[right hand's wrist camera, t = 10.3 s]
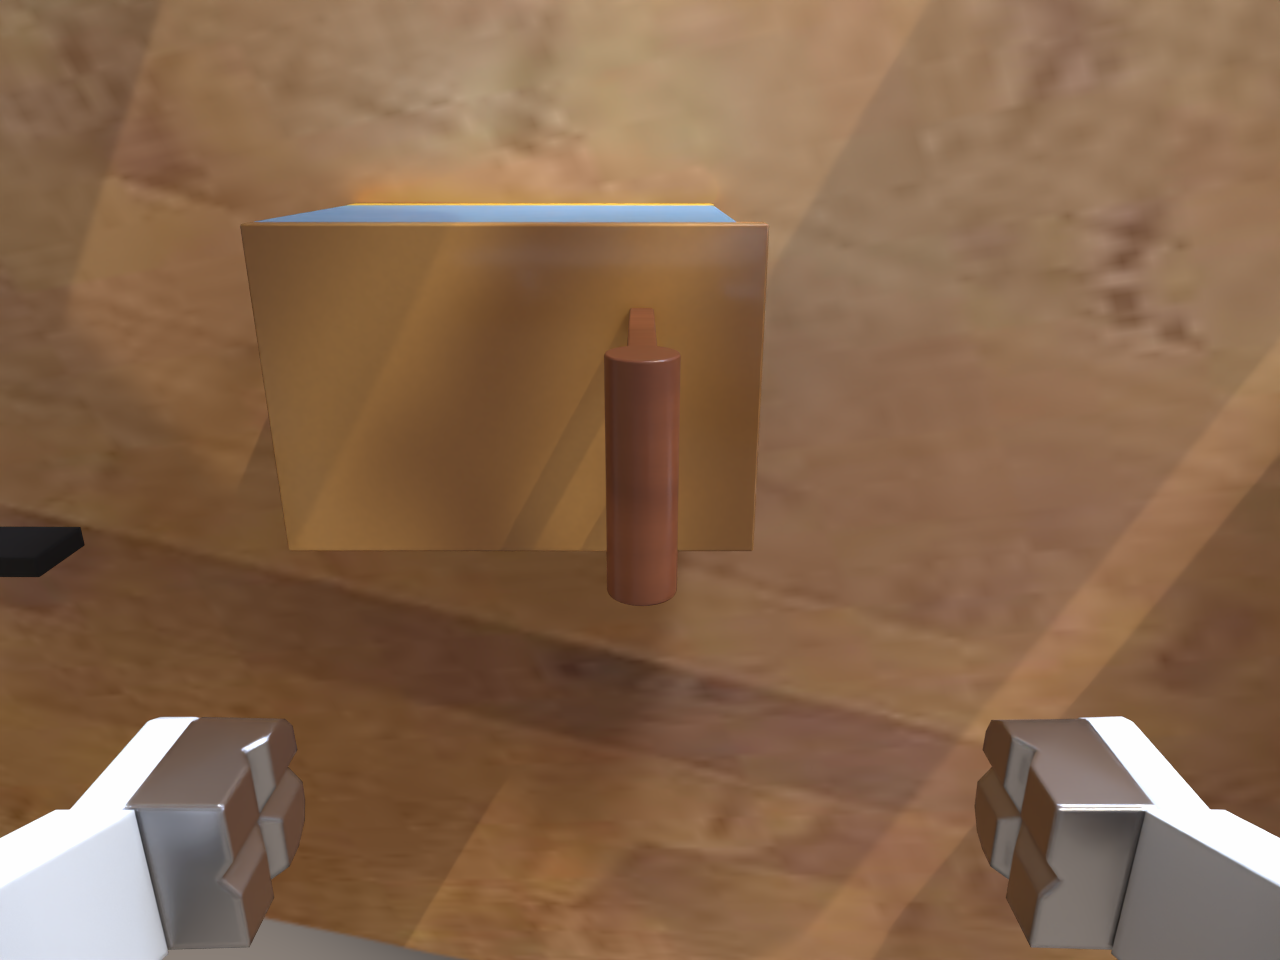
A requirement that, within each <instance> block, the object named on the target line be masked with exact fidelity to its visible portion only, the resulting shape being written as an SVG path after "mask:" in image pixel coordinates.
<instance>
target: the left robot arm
mask: <svg viewBox="0 0 1280 960" xmlns="http://www.w3.org/2000/svg"><path fill="white" fill-rule="evenodd" d="M83 546H84V540H83V536H82V532H81V528H80V527H0V577H40V576H41V575H43V574H44V573H46V572H47V571H49V570H50V569H51V568H53V567H54V566H56V565H57V564H59V563H60V562H61V561H63V560H64V559H66V558H67V557H69V556H70V555H71V554H73V553H74V552H76V551H77V550H78V549H80V548H81V547H83Z"/></svg>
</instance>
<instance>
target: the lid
mask: <svg viewBox="0 0 1280 960" xmlns="http://www.w3.org/2000/svg"><path fill="white" fill-rule="evenodd" d="M240 228H241V234H242V241H243V248H244V254H245V261H246V268H247V275H248V281H249V288H250V295H251V301H252V308H253V315H254V321H255V328H256V335H257V341H258V348H259V355H260V362H261V368H262V375H263V382H264V388H265V395H266V402H267V408H268V415H269V422H270V428H271V435H272V442H273V449H274V455H275V462H276V469H277V475H278V482H279V489H280V495H281V502H282V509H283V515H284V522H285V529H286V536H287V542H288V549H289V550H290V551H607V591H608V593H609V595H610V596H611V597H612V598H613V599H615V600H617V601H619V602H621V603H624V604H628V605H635V606H649V605H656V604H660V603H663V602H666V601H668V600H669V599H671V598H672V597H673V596H674V595H675V593H676V591H677V551H752V550H753V545H754V525H755V504H756V484H757V463H758V443H759V422H760V402H761V382H762V361H763V341H764V320H765V300H766V279H767V259H768V238H769V225H768V224H766V223H764V222H250V223H244V224H241V226H240Z"/></svg>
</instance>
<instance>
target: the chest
mask: <svg viewBox="0 0 1280 960" xmlns="http://www.w3.org/2000/svg"><path fill="white" fill-rule="evenodd" d="M255 222H736V221H734V220H733V219H732V218H730V217H729V216H727V215H726V214H724V213H723V212H722V211H720V210H719V209H717V208H716V207H714V205H713V204H349V205H346V206H341V207H335V208H329V209H324V210H318V211H312V212H306V213H301V214H295V215H289V216H283V217H278V218H272V219H266V220H260V221H255Z"/></svg>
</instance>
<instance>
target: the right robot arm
mask: <svg viewBox="0 0 1280 960" xmlns="http://www.w3.org/2000/svg"><path fill="white" fill-rule="evenodd" d="M296 751H297V745H296V740H295V735H294V730H293V726H292V725H291V724H290V723H289V722H288V721H287V720H286V719H264V718H218V717H202V718H197V717H159V718H156V719H153V720H149V721H148V722H147V723H146V724H145V725H144V726H143V727H142V728H141V729H140V731H139V732H138V733H137V734H136V735H135V736H134V737H133V738H132V740H131V741H130V742H129V743H128V744H127V745H126V746H125V748H124V749H123V750H122V751H121V752H120V753H119V754H118V756H117V757H116V758H115V759H114V760H113V761H112V762H111V763H110V765H109V766H108V767H107V768H106V769H105V770H104V771H103V773H102V774H101V775H100V776H99V777H98V778H97V779H96V781H95V782H94V783H93V784H92V785H91V786H90V787H89V788H88V790H87V791H86V792H85V793H84V794H83V795H82V796H81V798H80V799H79V800H78V801H77V802H76V803H75V804H74V806H73V807H72V808H71V809H70V810H54V811H52V812H50V813H49V814H47V815H45V816H43V817H41V818H39V819H37V820H35V821H33V822H31V823H29V824H27V825H25V826H23V827H21V828H19V829H17V830H15V831H13V832H11V833H9V834H7V835H6V836H4V837H2V838H0V960H162V959H163V958H164V957H166V956H167V955H168V950H171V949H206V948H240V947H250V945H251V943H252V941H253V939H254V937H255V935H256V933H257V931H258V929H259V927H260V925H261V923H262V921H263V919H264V917H265V915H266V913H267V911H268V909H269V907H270V905H271V903H272V901H273V899H274V894H273V888H272V882H271V879H273V878H274V877H275V876H277V875H278V874H280V873H281V872H282V871H284V870H285V869H286V868H288V867H289V866H290V864H291V862H292V860H293V858H294V856H295V854H296V851H297V849H298V847H299V844H300V839H301V835H302V830H303V826H304V821H305V796H304V789H303V782H302V781H301V780H300V779H299V778H298V777H297V776H296V775H295V774H294V773H293V772H292V771H291V770H290V769H289V768H288V766H289V764H290V762H291V760H292V759H293V757H294V755H295V753H296ZM983 751H984V753H985V755H986V757H987V758H988V760H989V762H990V764H991V766H992V768H991V769H990V770H989V771H988V772H987V773H986V774H985V775H984V776H983V777H982V778H981V779H980V780H979V781H978V782H977V790H976V799H975V816H976V827H977V833H978V836H979V840H980V843H981V846H982V849H983V852H984V854H985V856H986V858H987V860H988V862H989V864H990V866H991V867H992V868H994V869H995V870H996V871H998V872H999V873H1001V874H1002V875H1003V876H1005V877H1006V878H1007V879H1009V882H1008V888H1007V894H1006V899H1007V901H1008V903H1009V905H1010V907H1011V909H1012V911H1013V913H1014V915H1015V917H1016V919H1017V921H1018V923H1019V925H1020V927H1021V929H1022V931H1023V933H1024V935H1025V937H1026V939H1027V941H1028V943H1029V945H1030V947H1038V948H1073V949H1108V950H1112V952H1111V954H1113V955H1114V956H1115V957H1116V958H1117V959H1118V960H1280V838H1278V837H1276V836H1274V835H1272V834H1270V833H1269V832H1267V831H1265V830H1263V829H1261V828H1259V827H1257V826H1255V825H1253V824H1251V823H1249V822H1247V821H1245V820H1243V819H1241V818H1239V817H1237V816H1235V815H1233V814H1231V813H1230V812H1228V811H1226V810H1210V809H1209V808H1208V807H1207V806H1206V804H1205V803H1204V802H1203V801H1202V800H1201V799H1200V798H1199V796H1198V795H1197V794H1196V793H1195V792H1194V791H1193V790H1192V789H1191V787H1190V786H1189V785H1188V784H1187V783H1186V782H1185V781H1184V779H1183V778H1182V777H1181V776H1180V775H1179V774H1178V773H1177V771H1176V770H1175V769H1174V768H1173V767H1172V766H1171V765H1170V764H1169V762H1168V761H1167V760H1166V759H1165V758H1164V757H1163V756H1162V754H1161V753H1160V752H1159V751H1158V750H1157V749H1156V748H1155V746H1154V745H1153V744H1152V743H1151V742H1150V741H1149V740H1148V739H1147V737H1146V736H1145V735H1144V734H1143V733H1142V732H1141V731H1140V729H1139V728H1138V727H1137V726H1136V725H1135V724H1134V723H1133V722H1132V721H1130V720H1128V719H1126V718H1124V717H1122V716H1120V717H1088V718H1078V719H1031V720H991V722H990V724H989V726H988V728H987V730H986V733H985V739H984V745H983Z"/></svg>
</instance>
